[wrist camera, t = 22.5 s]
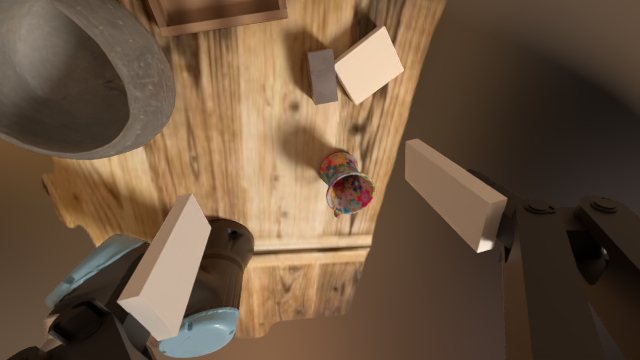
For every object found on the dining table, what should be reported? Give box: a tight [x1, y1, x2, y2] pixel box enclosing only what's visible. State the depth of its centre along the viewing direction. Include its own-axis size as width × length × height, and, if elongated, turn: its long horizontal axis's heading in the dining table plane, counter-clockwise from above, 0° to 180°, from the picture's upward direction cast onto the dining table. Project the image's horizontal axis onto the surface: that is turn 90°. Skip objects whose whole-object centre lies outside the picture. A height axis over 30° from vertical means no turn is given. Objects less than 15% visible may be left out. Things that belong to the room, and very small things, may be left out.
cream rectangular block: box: [334, 26, 404, 105], centre depth 43 cm, size 10×8×4 cm
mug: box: [320, 152, 375, 218], centre depth 50 cm, size 12×9×11 cm
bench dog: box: [305, 48, 338, 105], centre depth 42 cm, size 4×8×4 cm, turn 8°
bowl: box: [0, 0, 176, 160], centre depth 32 cm, size 21×21×15 cm
